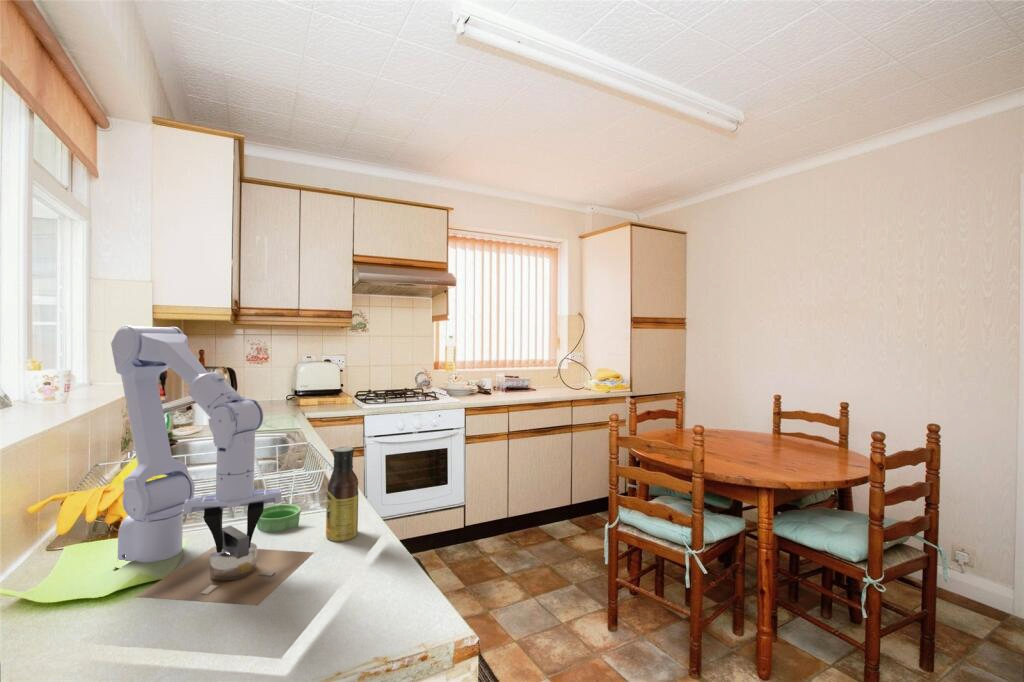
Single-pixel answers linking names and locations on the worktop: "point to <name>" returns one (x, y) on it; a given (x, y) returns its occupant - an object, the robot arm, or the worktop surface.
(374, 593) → the worktop surface
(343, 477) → the sauce bottle
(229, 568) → the silver rounded piece
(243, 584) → the baseplate
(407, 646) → the worktop surface
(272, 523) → the ramekin
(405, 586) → the worktop surface
